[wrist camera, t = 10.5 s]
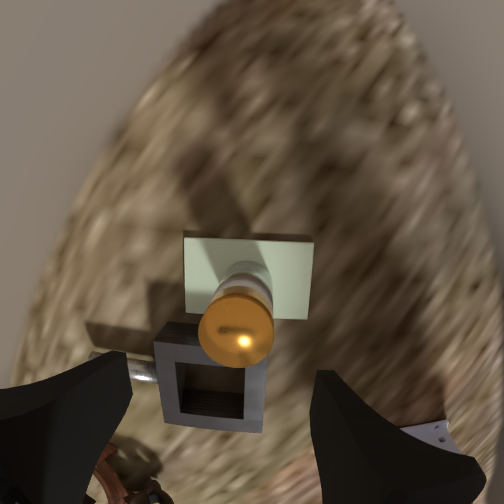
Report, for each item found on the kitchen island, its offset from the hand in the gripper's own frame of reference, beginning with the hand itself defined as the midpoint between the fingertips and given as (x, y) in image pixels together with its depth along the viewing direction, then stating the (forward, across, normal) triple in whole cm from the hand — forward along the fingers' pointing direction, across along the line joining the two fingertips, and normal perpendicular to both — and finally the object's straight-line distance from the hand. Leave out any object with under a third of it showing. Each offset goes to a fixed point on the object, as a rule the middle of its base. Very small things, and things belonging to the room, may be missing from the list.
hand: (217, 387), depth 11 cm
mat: (+10, 0, -1) cm, 10 cm away
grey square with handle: (+10, +4, +6) cm, 12 cm away
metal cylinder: (+9, 0, -1) cm, 9 cm away
